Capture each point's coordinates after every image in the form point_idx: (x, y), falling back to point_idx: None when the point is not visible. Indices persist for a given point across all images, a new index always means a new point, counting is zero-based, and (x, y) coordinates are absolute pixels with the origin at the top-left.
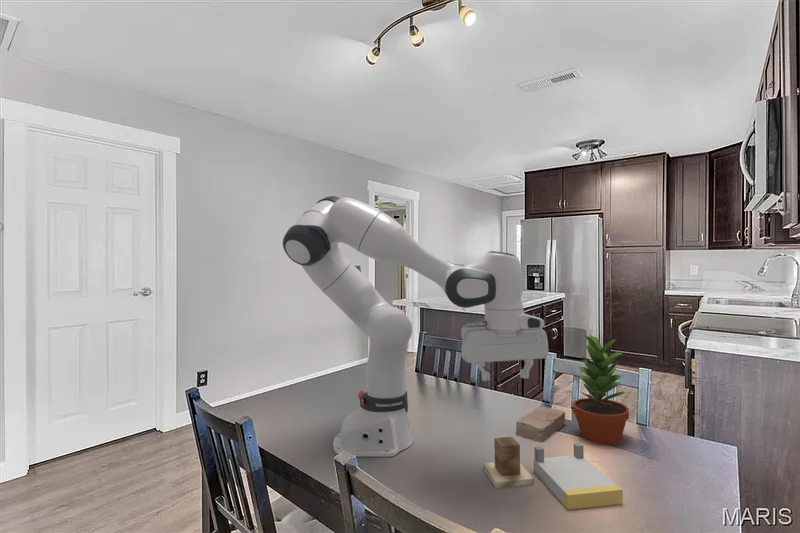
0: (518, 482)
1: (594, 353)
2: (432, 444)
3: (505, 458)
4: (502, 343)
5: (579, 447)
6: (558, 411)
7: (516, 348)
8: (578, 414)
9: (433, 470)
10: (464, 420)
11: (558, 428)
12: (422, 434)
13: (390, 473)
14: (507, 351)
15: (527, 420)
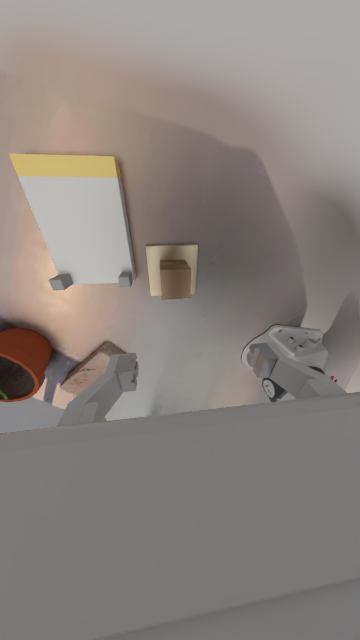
0: (167, 245)
1: None
2: (226, 344)
3: (182, 264)
4: (331, 602)
5: (57, 279)
6: (68, 387)
7: (166, 525)
8: (37, 364)
9: (247, 294)
10: (177, 385)
11: (77, 366)
12: (227, 363)
13: (291, 293)
14: (242, 479)
15: None
